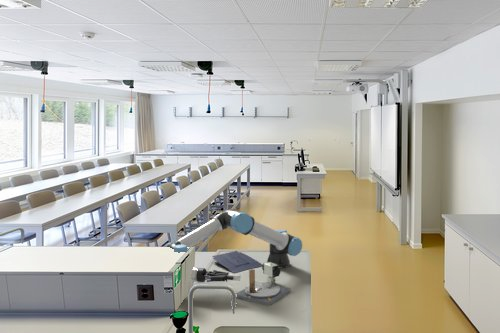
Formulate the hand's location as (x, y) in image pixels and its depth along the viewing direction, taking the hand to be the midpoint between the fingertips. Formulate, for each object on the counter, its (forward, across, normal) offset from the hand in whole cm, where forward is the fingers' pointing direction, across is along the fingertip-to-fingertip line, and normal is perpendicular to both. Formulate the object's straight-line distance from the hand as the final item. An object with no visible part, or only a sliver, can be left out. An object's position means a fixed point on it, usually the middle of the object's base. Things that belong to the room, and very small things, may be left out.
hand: (239, 277), depth 233 cm
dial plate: (+11, -8, -11) cm, 17 cm away
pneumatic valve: (+13, -27, -11) cm, 32 cm away
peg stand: (+11, -8, -10) cm, 16 cm away
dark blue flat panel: (-17, -58, -12) cm, 61 cm away
